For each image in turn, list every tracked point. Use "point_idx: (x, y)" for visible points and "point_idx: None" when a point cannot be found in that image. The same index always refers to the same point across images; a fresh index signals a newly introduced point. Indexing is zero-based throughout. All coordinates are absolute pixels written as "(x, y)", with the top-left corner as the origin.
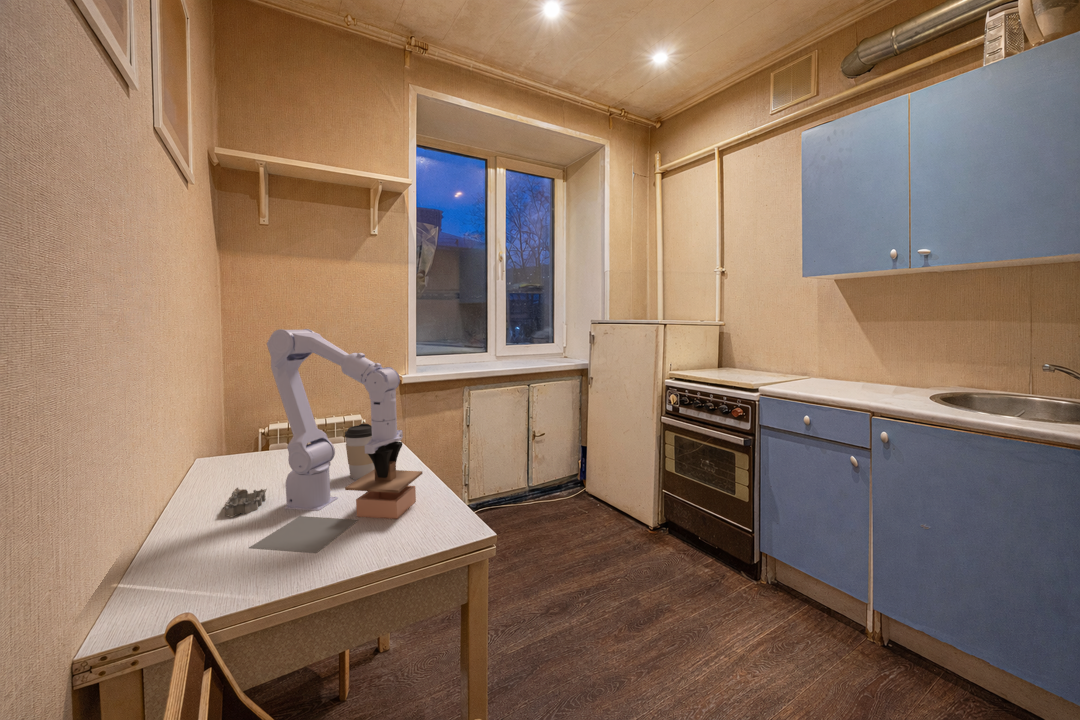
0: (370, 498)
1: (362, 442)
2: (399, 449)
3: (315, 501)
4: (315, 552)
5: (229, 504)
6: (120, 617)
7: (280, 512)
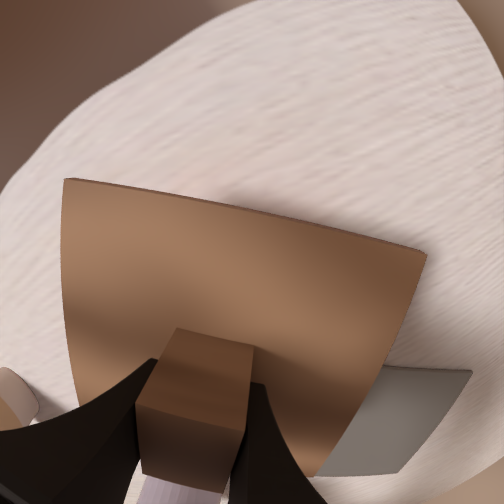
0: None
1: None
2: (35, 439)
3: None
4: (469, 376)
5: None
6: (490, 461)
7: None
